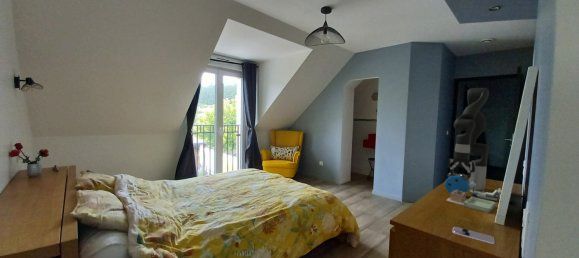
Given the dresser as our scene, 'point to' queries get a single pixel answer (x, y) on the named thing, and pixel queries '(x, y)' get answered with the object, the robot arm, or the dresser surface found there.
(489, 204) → the tray
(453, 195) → the ring
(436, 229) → the dresser surface
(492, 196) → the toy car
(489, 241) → the mobile phone
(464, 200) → the stake board
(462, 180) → the alarm clock
